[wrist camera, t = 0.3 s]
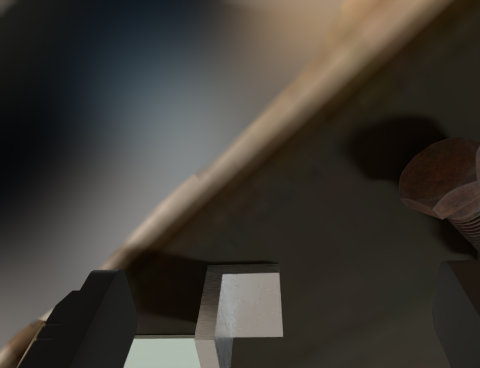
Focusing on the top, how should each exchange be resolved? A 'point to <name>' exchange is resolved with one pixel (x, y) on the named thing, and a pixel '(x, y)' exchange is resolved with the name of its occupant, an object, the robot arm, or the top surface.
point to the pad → (163, 352)
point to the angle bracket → (236, 309)
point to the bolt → (446, 185)
